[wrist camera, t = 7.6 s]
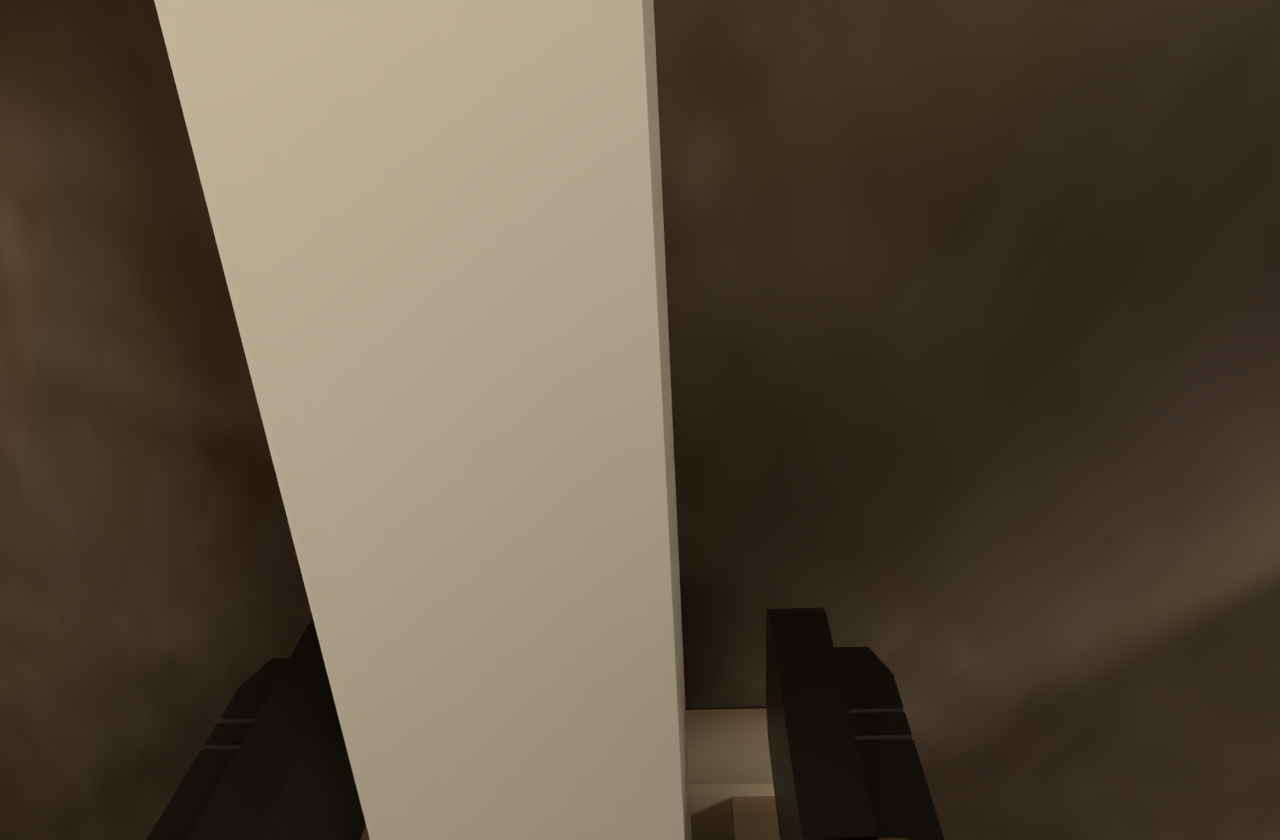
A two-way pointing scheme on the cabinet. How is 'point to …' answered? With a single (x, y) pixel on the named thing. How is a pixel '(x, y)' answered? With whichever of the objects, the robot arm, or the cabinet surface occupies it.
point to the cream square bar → (462, 389)
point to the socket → (728, 776)
